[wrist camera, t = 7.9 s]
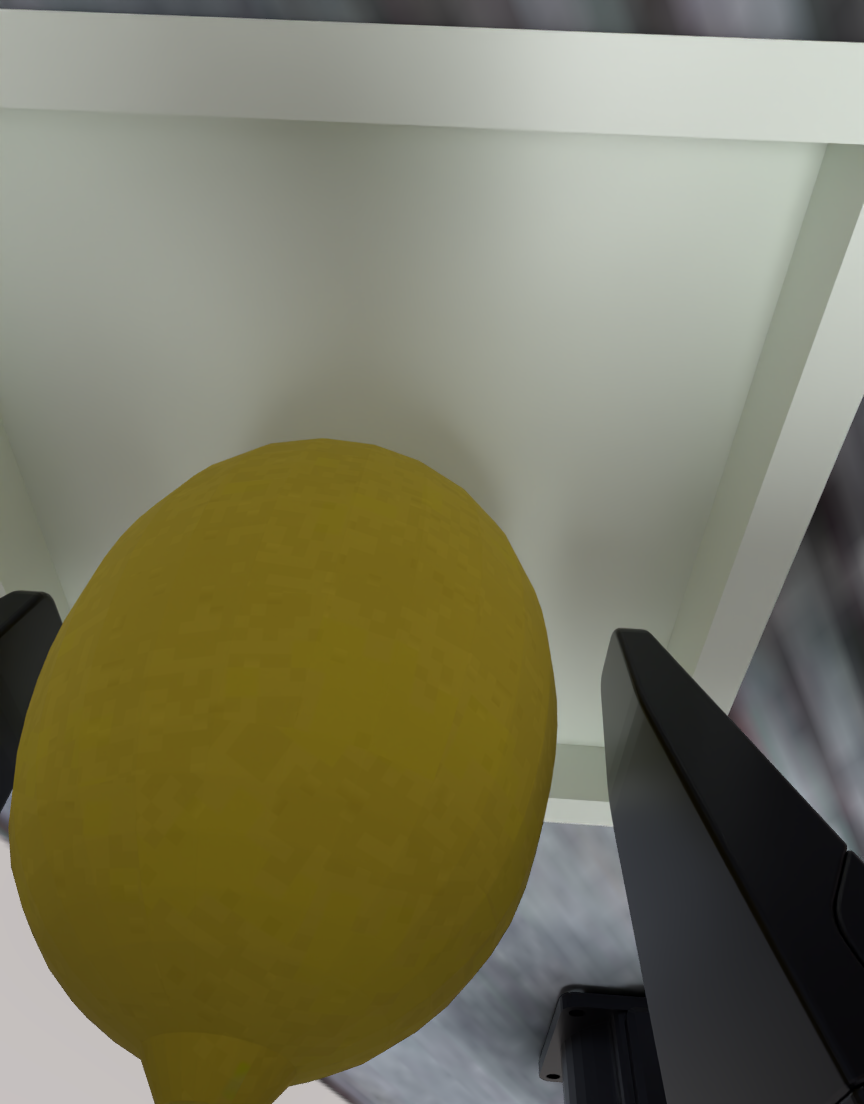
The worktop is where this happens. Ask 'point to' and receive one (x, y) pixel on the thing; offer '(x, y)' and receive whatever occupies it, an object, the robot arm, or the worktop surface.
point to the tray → (443, 300)
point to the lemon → (285, 769)
